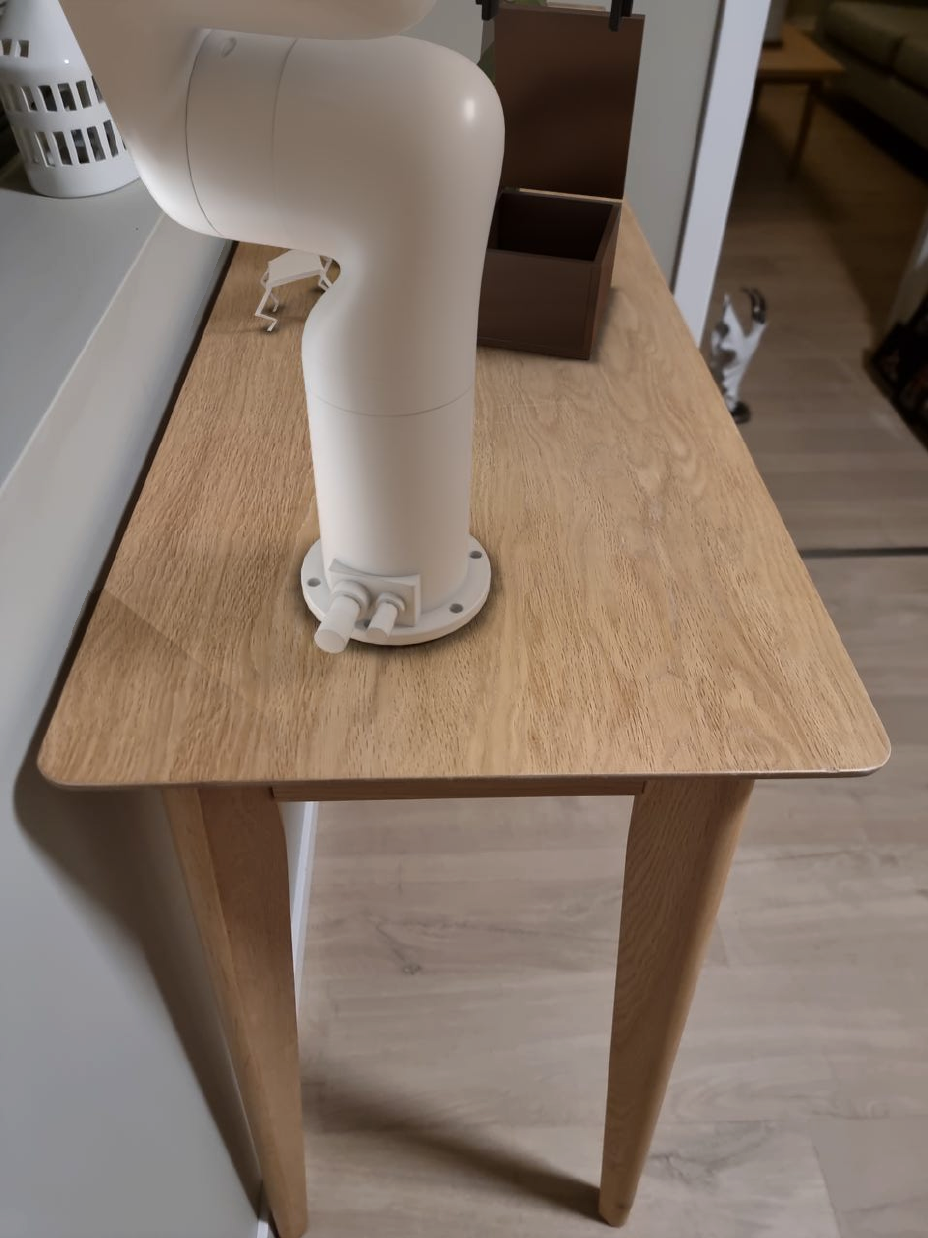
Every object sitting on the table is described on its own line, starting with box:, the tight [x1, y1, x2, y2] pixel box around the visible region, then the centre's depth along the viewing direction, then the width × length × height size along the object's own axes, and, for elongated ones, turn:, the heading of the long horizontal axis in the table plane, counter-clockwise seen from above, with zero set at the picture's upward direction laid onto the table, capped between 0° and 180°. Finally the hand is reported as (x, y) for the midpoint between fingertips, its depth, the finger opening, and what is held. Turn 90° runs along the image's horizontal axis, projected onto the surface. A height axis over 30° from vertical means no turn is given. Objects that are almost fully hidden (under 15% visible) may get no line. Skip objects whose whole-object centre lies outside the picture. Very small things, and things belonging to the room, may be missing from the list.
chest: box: [476, 189, 623, 361], centre depth 88 cm, size 16×13×9 cm
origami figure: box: [254, 249, 333, 332], centre depth 89 cm, size 12×8×5 cm
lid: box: [494, 1, 646, 201], centre depth 84 cm, size 16×13×5 cm
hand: (551, 22), depth 70 cm, fingers open, 9 cm apart
